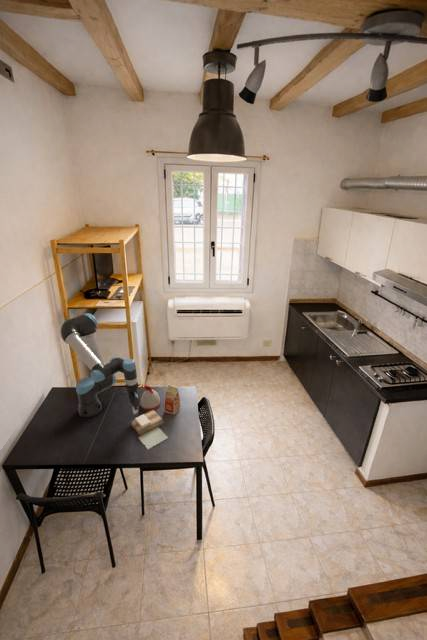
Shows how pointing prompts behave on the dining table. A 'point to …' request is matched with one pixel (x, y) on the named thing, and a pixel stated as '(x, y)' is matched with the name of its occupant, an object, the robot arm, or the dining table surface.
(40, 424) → the dining table surface
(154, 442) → the mat
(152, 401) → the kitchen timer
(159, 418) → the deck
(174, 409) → the milk carton
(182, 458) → the dining table surface
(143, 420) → the white flat block
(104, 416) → the dining table surface
